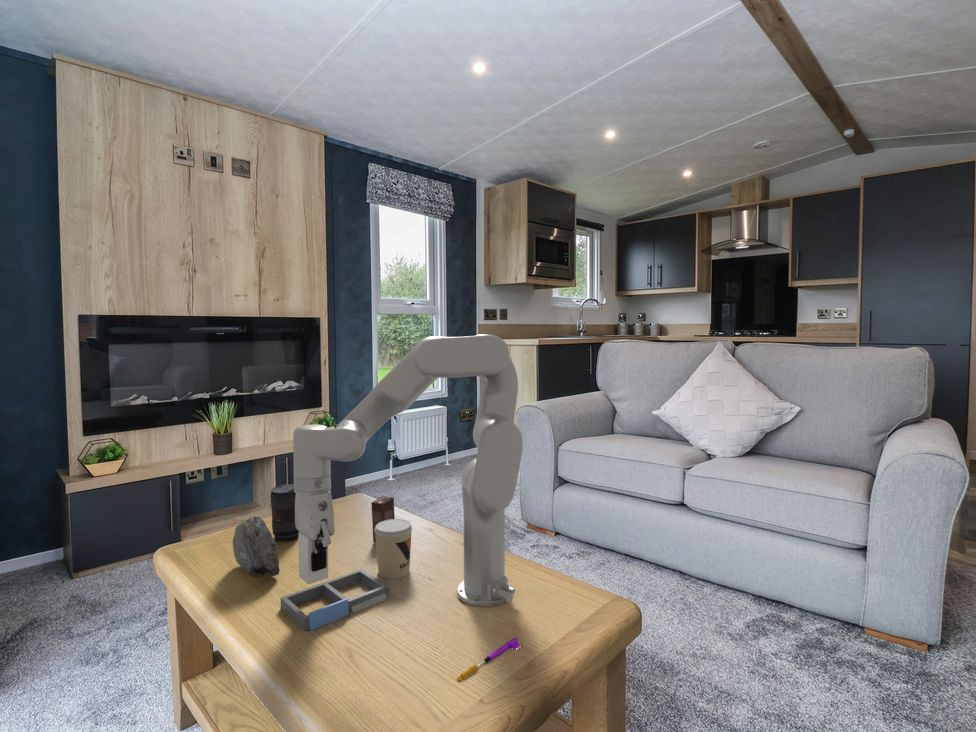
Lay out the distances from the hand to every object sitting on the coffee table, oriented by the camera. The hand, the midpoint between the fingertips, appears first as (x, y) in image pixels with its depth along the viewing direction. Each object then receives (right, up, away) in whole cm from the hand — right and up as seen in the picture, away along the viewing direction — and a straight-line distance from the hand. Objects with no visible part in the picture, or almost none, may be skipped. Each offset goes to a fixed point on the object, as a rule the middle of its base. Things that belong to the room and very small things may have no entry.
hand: (313, 564), depth 114 cm
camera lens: (-21, -8, +41) cm, 47 cm away
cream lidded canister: (+14, -9, +19) cm, 26 cm away
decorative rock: (-21, -9, +18) cm, 29 cm away
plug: (0, -3, 0) cm, 3 cm away
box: (+7, -8, +39) cm, 41 cm away
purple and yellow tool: (+39, -12, -17) cm, 44 cm away
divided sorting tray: (+4, -10, +4) cm, 11 cm away
